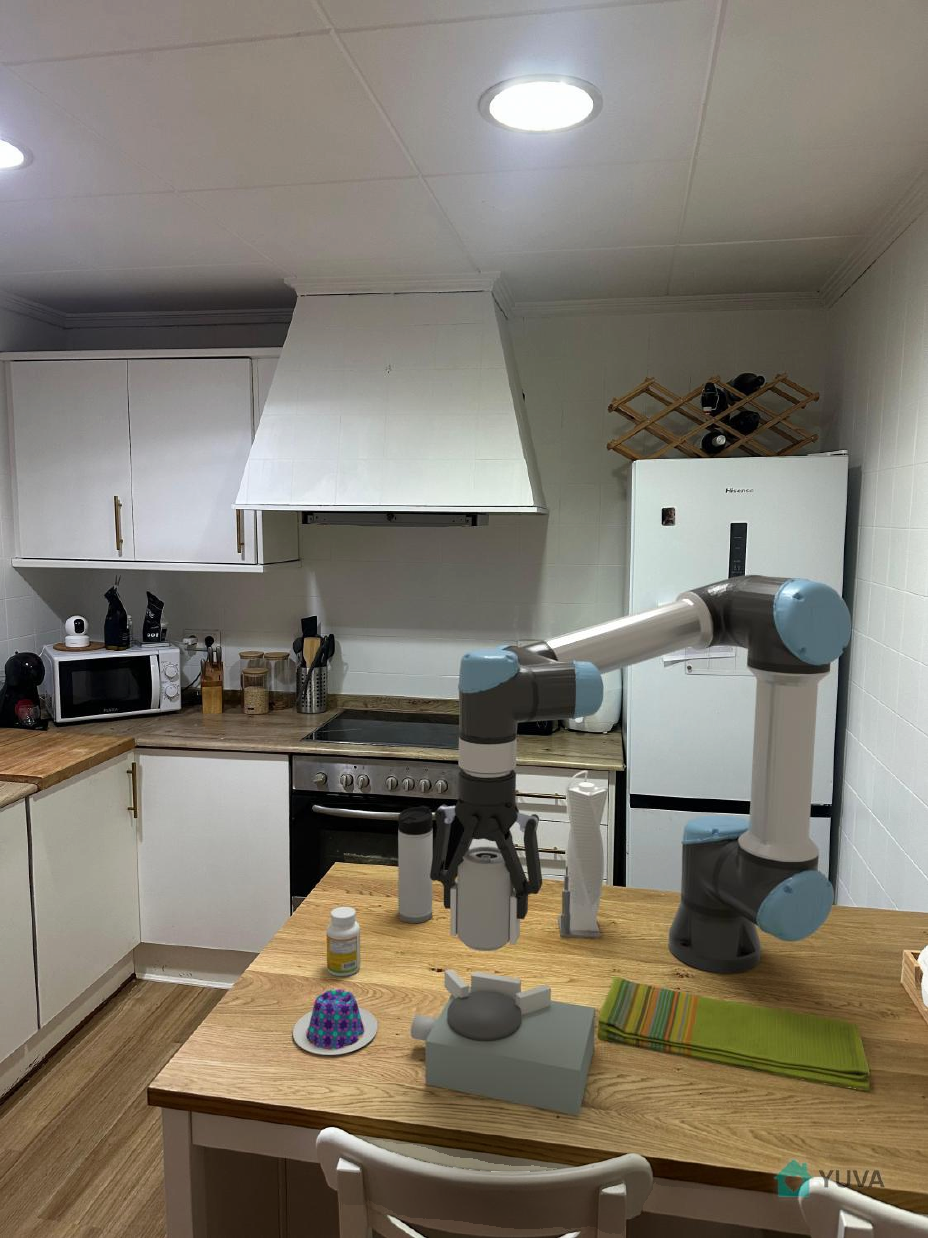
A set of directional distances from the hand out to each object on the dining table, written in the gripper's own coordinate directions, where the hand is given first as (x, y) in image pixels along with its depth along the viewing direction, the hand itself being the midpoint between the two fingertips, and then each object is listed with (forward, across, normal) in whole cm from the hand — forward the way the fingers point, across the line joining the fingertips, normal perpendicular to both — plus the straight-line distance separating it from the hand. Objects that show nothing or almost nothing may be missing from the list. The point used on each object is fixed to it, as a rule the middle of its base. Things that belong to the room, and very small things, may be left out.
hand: (485, 935), depth 113 cm
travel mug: (+18, +23, -37) cm, 47 cm away
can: (+1, 0, 0) cm, 1 cm away
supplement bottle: (+18, +28, -16) cm, 37 cm away
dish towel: (+19, -32, -16) cm, 40 cm away
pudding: (+18, +22, 0) cm, 29 cm away
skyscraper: (+18, -7, -42) cm, 46 cm away
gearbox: (+18, -2, 0) cm, 18 cm away
